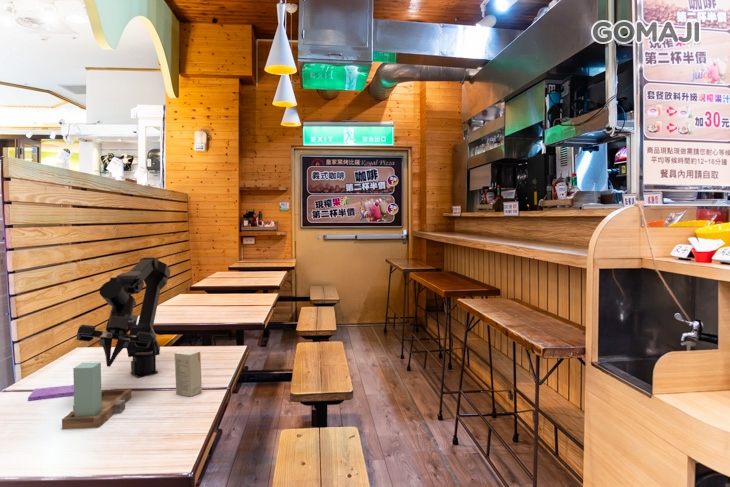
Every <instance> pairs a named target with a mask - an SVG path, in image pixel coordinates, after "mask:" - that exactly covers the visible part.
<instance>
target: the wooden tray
mask: <svg viewBox="0 0 730 487" xmlns="http://www.w3.org/2000/svg"><path fill="white" fill-rule="evenodd" d="M132 397H133V396H132V389H131V388H129V389H127V388H123V389H122V388H121V389H101V401H102V410H101V412H100V413H99V414H98V415H96V416H85V417H74V405H73V406H72V407H73V410H71V411H70V412H69V413H68V414H67V415H65V416H64V417H63V418H61V430H73V429H75V430H76V429H98V428H100V427H101V426H103V425H104V424H105V422H108V421H109V419H110V418H111V417H113V415H115V414H122V413H123V412H124V411H125V410H126V403H127V402H128V401H129V400H131V398H132Z"/></svg>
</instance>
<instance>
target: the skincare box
mask: <svg viewBox="0 0 730 487" xmlns="http://www.w3.org/2000/svg"><path fill="white" fill-rule="evenodd" d="M201 356H202V355H201V351H199V350H190V349H184V350H183V349H182V350H180V351H177V352H175V353H174V372H175V394H176V395H181V396H186V397H193V396H196V395H198V394H200V393H202V392H203V390H202V387H203V384H202V364H201V363H202V361H201V360H202V358H201Z"/></svg>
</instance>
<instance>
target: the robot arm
mask: <svg viewBox="0 0 730 487" xmlns="http://www.w3.org/2000/svg"><path fill="white" fill-rule="evenodd" d="M170 276H171V268H170V267H169V266H168V265H167V264H166V263H164V262H162V261H161V260H159V259H158V258H157V257H154V256H151V257H150V256H148V257H145V256H144V257H141V258H140V259H139V262H138V263H137V264H135V265H134V266H133V267H132V268H131V269H130V270H129V271H126V272H121V273H119V274H118V275H116V276H113V277H110V279H109V280H108V281H106V282H105V283H103V284H102V285H101V287H100V288H99V295H100V297H102V299H103V300H104V301H105V302H106V303H107V304H108V305H109V306H111V308H110V312H109V315H108V316H109V317H108V320H107V323H106V326H105V331H103V330H97V326H96V325H90V324H89V325H88V324H81V325H79V327H78V330H77V332H76V333H77V334H76V340H77V341H80V342H88V343H89V342H92V341H93V340H94V338H95V339H99V342H98V343H99V344H98V345H99V346H100V347H102V348H103V352H104V356H105V362H106V367H109V368H110V367H111V366H112V364H113V363H114V362H115V360H116V359H117V357H118V355H119V354H120V353H121V352H122V350H124V349H126V351H127V357H128V358H132V360H131V361H130V366H131V367H130V374H131V375H133V376H135V377H136V378H142V377H147V376H150V375H155V374H158V373H159V371H158V370H157V367H156V366H157V364H156V362H157V361H156V360H157V357H156V356H159V355H161V354H160V352H161V345H160V343H159V342H158V340H157V334H156V333H155V330H154V323H155V319H156V315H157V309H158V304H159V299H160V293H161V290H162V289H164V287H166V285H167V283H168V280H169V278H170ZM144 286H145V290H144V295H143V300H142V304H141V307H140V308H141V309H140V312H139V313H140V314H139V315H136V314H133V311H134V307H135V306H136V305H137V302H136V299H135V297H134V296H133V294H136V295H137V294H139V293H141V291H142V290H143V288H144ZM138 317H139V318H138ZM130 327H131V328H130ZM113 340H114V341H116V343H115V347H114V349H113V352H112V345H113V344H112V343H113Z"/></svg>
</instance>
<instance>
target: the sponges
mask: <svg viewBox="0 0 730 487" xmlns="http://www.w3.org/2000/svg"><path fill="white" fill-rule="evenodd" d="M70 397H74V384H71V385H59V386H49V387H41V388H34V390H33V391H32V392H31V393H30V395H29V396H27V401H28V402H32V401H41V400H42V399H43V400H49V399H50V400H51V399H60V398H70ZM43 400H42V401H43Z"/></svg>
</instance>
